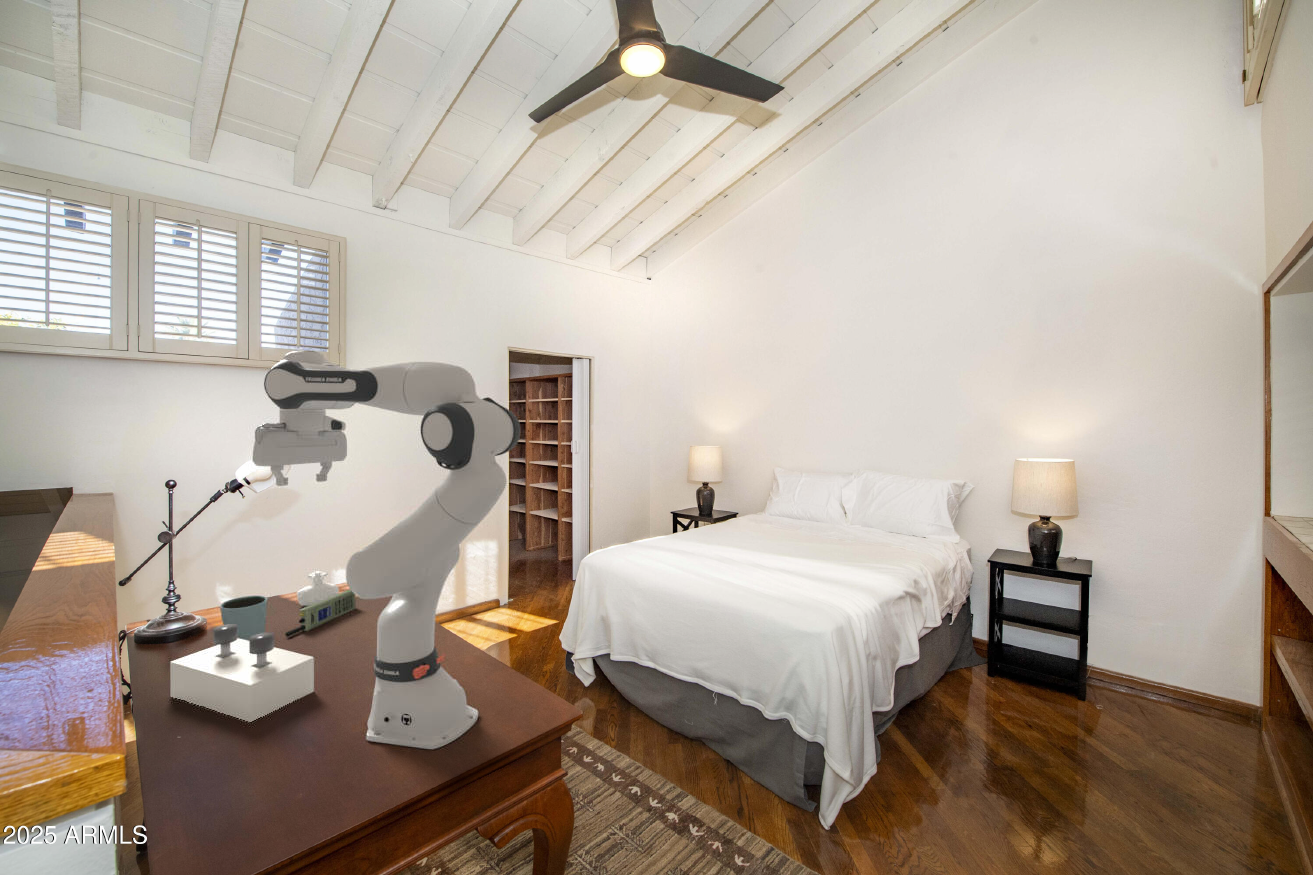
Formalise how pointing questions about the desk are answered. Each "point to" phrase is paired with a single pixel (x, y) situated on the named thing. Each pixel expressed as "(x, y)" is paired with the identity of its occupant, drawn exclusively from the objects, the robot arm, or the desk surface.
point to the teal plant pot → (245, 615)
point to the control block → (242, 680)
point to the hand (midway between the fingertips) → (302, 483)
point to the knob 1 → (225, 638)
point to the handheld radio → (325, 611)
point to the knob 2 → (261, 647)
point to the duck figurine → (316, 590)
